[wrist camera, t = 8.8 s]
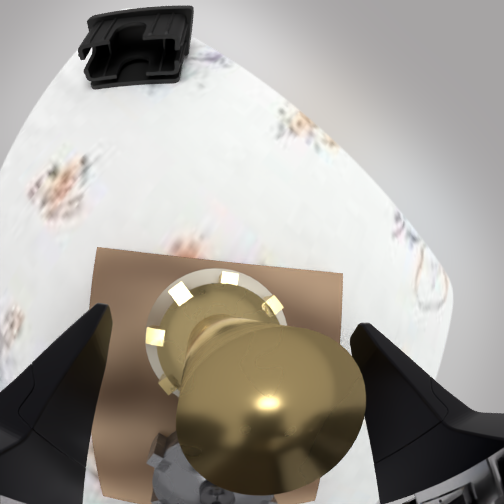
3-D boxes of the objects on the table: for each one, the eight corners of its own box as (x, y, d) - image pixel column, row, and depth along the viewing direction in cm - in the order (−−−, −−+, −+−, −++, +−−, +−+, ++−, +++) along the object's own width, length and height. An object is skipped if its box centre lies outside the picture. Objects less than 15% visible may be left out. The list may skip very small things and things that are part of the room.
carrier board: (308, 492, 16) (316, 502, 15) (107, 486, 13) (102, 497, 11) (333, 276, 20) (344, 272, 19) (103, 251, 17) (95, 246, 16)
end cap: (190, 44, 23) (195, -4, 16) (183, 83, 22) (186, 28, 15) (105, 50, 21) (97, 6, 14) (86, 91, 19) (70, 42, 13)
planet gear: (208, 426, 15) (244, 578, 3) (125, 327, 15) (-9, 357, 3) (306, 349, 17) (467, 390, 5) (230, 250, 17) (307, 130, 5)
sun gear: (263, 503, 14) (278, 535, 10) (157, 501, 13) (153, 535, 9) (274, 414, 16) (295, 439, 12) (150, 408, 15) (140, 435, 10)
